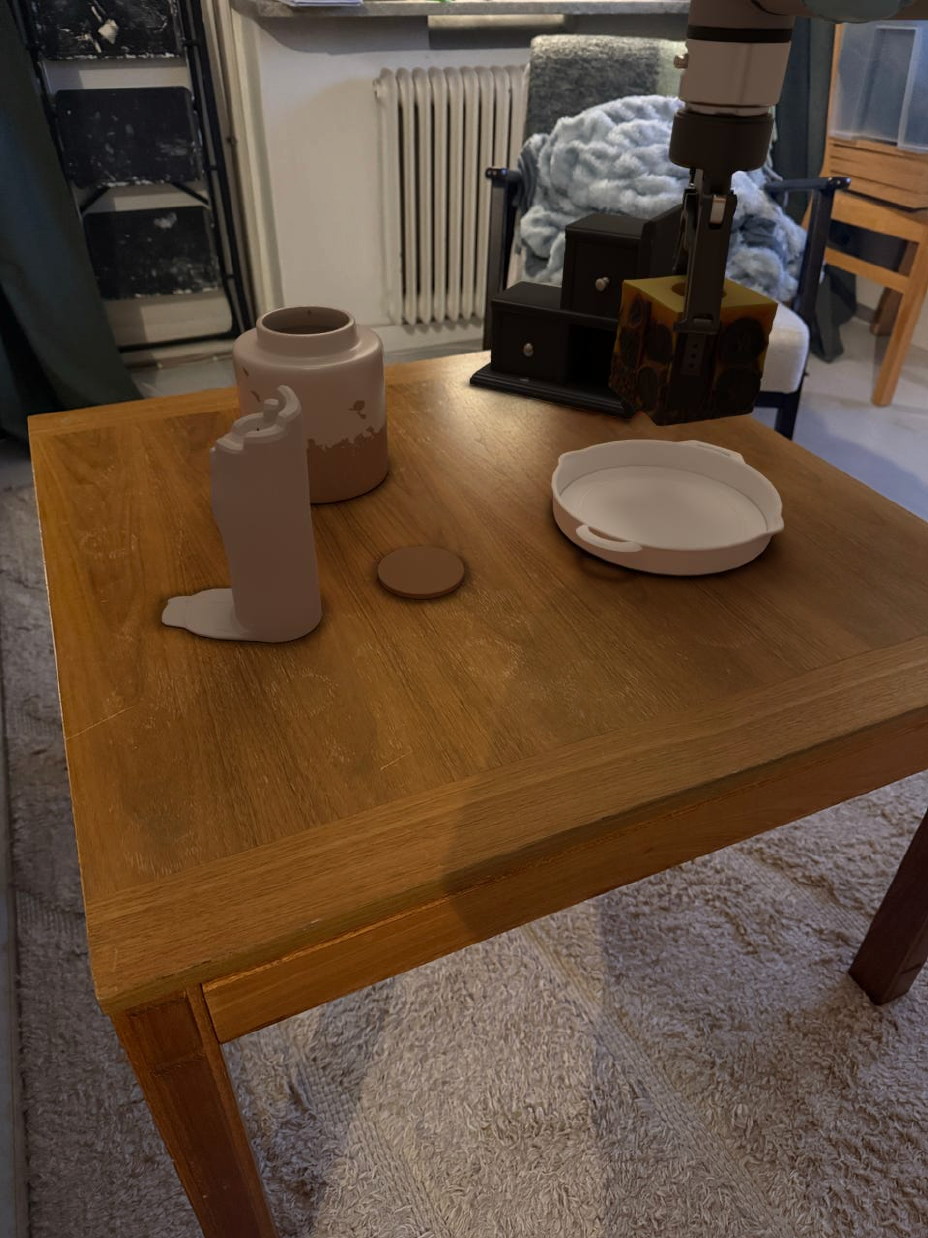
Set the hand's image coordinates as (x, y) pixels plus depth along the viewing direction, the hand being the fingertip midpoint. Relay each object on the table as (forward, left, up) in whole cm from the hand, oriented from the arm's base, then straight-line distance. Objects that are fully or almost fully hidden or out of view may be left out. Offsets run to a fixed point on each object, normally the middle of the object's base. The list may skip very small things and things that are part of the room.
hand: (677, 378), depth 78 cm
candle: (0, 0, -2) cm, 3 cm away
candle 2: (+35, +22, -16) cm, 45 cm away
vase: (+36, -5, -16) cm, 40 cm away
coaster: (+21, +13, -16) cm, 29 cm away
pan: (-1, -1, -16) cm, 16 cm away
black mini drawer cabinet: (+11, -34, -16) cm, 39 cm away
